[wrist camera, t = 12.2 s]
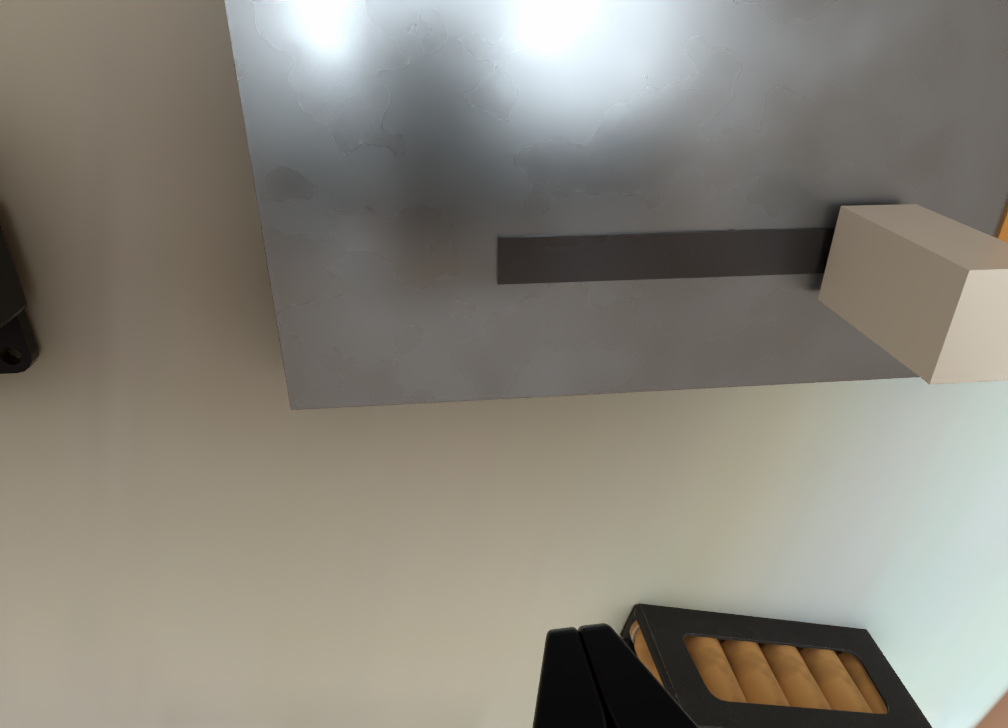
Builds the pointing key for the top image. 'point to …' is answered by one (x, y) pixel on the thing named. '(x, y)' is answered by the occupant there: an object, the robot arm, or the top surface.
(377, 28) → the switch panel
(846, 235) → the block
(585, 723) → the robot arm
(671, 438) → the top surface
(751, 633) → the cigar case
